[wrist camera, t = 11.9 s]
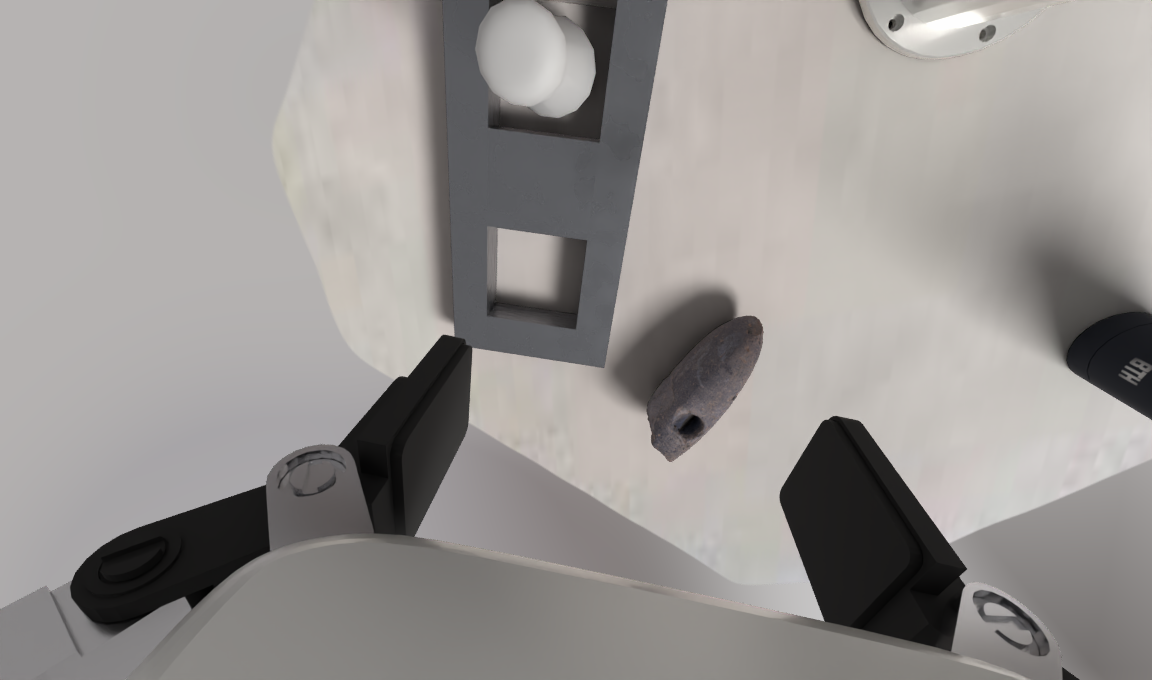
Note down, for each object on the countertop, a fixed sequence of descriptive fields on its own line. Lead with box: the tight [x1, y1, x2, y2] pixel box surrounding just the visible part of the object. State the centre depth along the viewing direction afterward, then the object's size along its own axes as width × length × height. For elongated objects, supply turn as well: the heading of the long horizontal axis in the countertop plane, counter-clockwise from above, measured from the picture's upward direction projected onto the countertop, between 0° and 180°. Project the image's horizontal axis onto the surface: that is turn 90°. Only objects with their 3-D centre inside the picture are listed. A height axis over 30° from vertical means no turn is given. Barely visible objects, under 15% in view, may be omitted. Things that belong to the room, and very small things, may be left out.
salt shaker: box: [475, 0, 596, 118], centre depth 25 cm, size 6×6×13 cm
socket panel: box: [442, 0, 668, 368], centre depth 33 cm, size 14×30×3 cm, turn 174°
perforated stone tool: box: [647, 316, 763, 462], centre depth 38 cm, size 15×5×7 cm, turn 149°
